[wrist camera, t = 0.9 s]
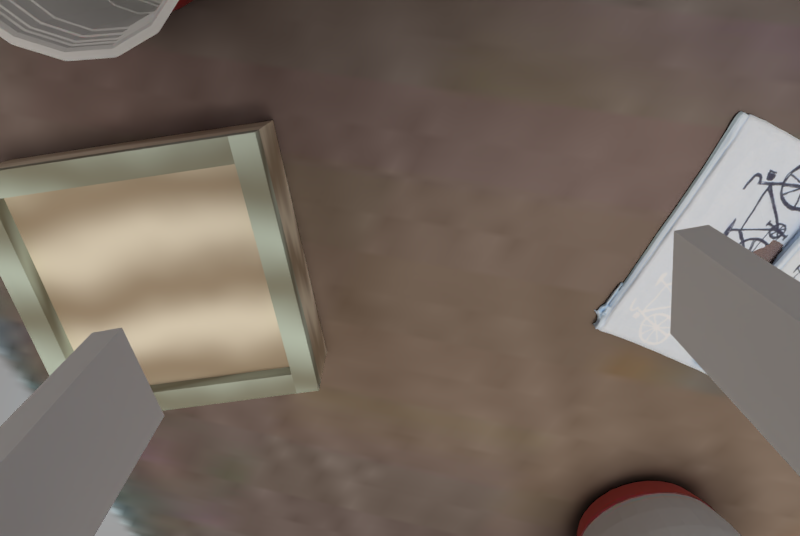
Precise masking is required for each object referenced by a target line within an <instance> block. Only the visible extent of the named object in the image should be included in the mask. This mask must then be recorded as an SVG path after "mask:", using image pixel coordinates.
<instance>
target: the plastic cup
mask: <svg viewBox="0 0 800 536" xmlns="http://www.w3.org/2000/svg"><path fill="white" fill-rule="evenodd" d="M191 1H193V0H0V37H2V38H3V39H4V40H6V41H7V42H9V43H10V44H12V45H15V46H18V47H22V48H25V49H28V50H31V51H35V52H38V53H41V54H44V55H48V56H51V57H54V58H57V59H60V60H64V61H76V60H88V59H100V58H113V57H118V56H120V55H121V54H123V53H125V52H127V51H128V50H130V49H132V48H133V47H135V46H137V45H138V44H140V43H142V42H143V41H145V40H147V39H149V38H150V37H152V36H154V35H155V34H157V33H159V31H160V29H161V28H162V26H163V25H164V23H165V21H166V20H167V18H168V17H169V15H170V14H171V12H172V11H174V10H177V9H180V8H182V7H183V6H185V5H187V4H188V3H190V2H191Z"/></svg>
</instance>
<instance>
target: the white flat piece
mask: <svg viewBox="0 0 800 536" xmlns="http://www.w3.org/2000/svg"><path fill="white" fill-rule="evenodd" d="M704 225H710V226H711V227H713V228H715V229H716V230H718V231H719V232H721V233H723V234H724V235H726V236H727V237H729V238H731V239H732V240H734V241H735V242H737V243H738V244H740V245H742V246H743V247H745V248H746V249H748V250H750V251H751V252H753V251H756V250H758V249H760V248H763V247H765V246H766V245H769V244H770V242H771V241H772V240H776V241H778V242H780V243H781V244H783V247H782V249H783V250H782V251H781V252H780V253H779V254H778V255H777V257H776V259H775V260H774V262H773V264H772V265H774V266H775V267H777V268H778V269H780V270H782V271H783V272H785V273H786V274H788V275H789V276H791V277H793V278H794V279H796V280H797V281H799V282H800V140H799V139H797V138H796V137H794V136H792V135H790V134H789V133H787V132H785V131H783V130H781V129H779V128H778V127H776V126H774V125H772V124H770V123H769V122H767V121H765V120H763V119H760V118H758V117H756V116H754V115H751V114H749V115H748V114H746V113H744V112H742V111H740V112H739V113H738V114H737V115H736V116H735V118H734V119H733V121H732V122H731V124H730V126H729V127H728V129H727V131H726V132H725V134H724V135H723V137H722V138H721V140H720V141H719V143H718V145H717V146H716V148H715V149H714V151H713V153H712V154H711V156H710V157H709V159H708V161H707V162H706V164H705V165H704V167H703V168H702V170H701V171H700V173H699V174H698V176H697V177H696V179H695V180H694V181H693V183H692V184H691V186H690V187H689V189H688V190H687V192H686V193H685V195H684V196H683V198H682V199H681V201H680V202H679V203H678V205H677V206H676V208H675V209H674V211H673V212H672V214H671V215H670V216H669V218H668V219H667V221H666V222H665V223H664V225H663V226H662V227H661V229H660V230H659V232H658V233H657V234H656V236H655V237H654V239H653V240H652V242H651V243H650V245H649V246H648V248H647V249H646V251H645V252H644V254H643V255H642V256H641V258H640V259H639V261H638V262H637V264H636V265H635V267H634V268H633V270H632V271H631V273H630V274H629V276H628V277H627V278H626V280H625V281H624V283H622V282H621V283H620V285H619V287H618V288H617V289H615V290H614V292H613V293H612V294H611V296H610V297H609V299H608V300H607V301H606V303H605V304H603V305H602V306H601V307H600V308H599V309H598V310H594V311H595V312H596V314H597V321H596V322H595V323H593V325H594V326H595V329H598V330H600V331H603V332H606V333H609V334H612V335H615V336H617V337H620V338H623V339H625V340H628V341H631V342H634V343H636V344H638V345H641V346H643V347H645V348H648V349H650V350H653V351H655V352H658V353H660V354H662V355H665V356H667V357H669V358H672V359H674V360H676V361H678V362H680V363H682V364H685V365H687V366H690V367H692V368H694V369H697V370H699V371H701V372H703V373H705V374H707V373H706V372H705V371H704V370H703V369H702V368H701V367H700V366H699V365H698V363H697V362H696V361H695V360H694V359H693V358H692V357H691V356H690V355H689V354H688V352H687V351H686V350H685V349H684V348H683V347H682V346H681V345H680V344H679V343H678V341H677V340H676V339H675V338H674V337H673V336H672V335H671V334H670V327H671V299H672V271H673V243H674V231H676V230H681V229H687V228H693V227H699V226H704Z"/></svg>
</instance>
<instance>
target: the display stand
mask: <svg viewBox="0 0 800 536" xmlns="http://www.w3.org/2000/svg"><path fill="white" fill-rule="evenodd" d="M0 276H1V278H2V280H3V282H4V284H5V286H6V288H7V290H8V292H9V294H10V296H11V298H12V300H13V302H14V304H15V306H16V308H17V310H18V312H19V314H20V317H21V319H22V321H23V323H24V325H25V327H26V329H27V331H28V333H29V335H30V337H31V339H32V341H33V343H34V345H35V347H36V349H37V351H38V353H39V355H40V357H41V359H42V361H43V363H44V365H45V368H46V370H47V372H48V374H49V376H50V375H51V374H52V373H53V372H54V371H55V370H56V369H57V368H58V367H59V366H60V365H61V364H62V363H63V362H64V361H65V360H66V359H67V358H68V357H69V356H70V355H71V354H72V353H73V352H74V351H75V350H76V349H77V348H78V347H79V346H80V344H81V343H82V342H83V341H84V340H85V339H86V338H87V337H88V336H89V335H90V334H91V333H93V332H99V331H105V330H110V329H116V328H122V329H123V331H124V333H125V335H126V337H127V339H128V341H129V343H130V345H131V347H132V350H133V352H134V354H135V356H136V358H137V360H138V362H139V364H140V366H141V368H142V370H143V372H144V375H145V377H146V379H147V381H148V383H149V385H150V387H151V389H152V391H153V393H154V395H155V397H156V399H157V402H158V404H159V406H160V408H161V410H162V411H164V410H171V409H179V408H187V407H195V406H202V405H210V404H218V403H226V402H233V401H241V400H249V399H256V398H264V397H272V396H280V395H287V394H295V393H303V392H311V391H318V390H319V388H320V383H321V378H322V373H323V368H324V363H325V358H326V353H327V351H326V346H325V342H324V338H323V333H322V329H321V325H320V320H319V316H318V312H317V308H316V303H315V299H314V295H313V290H312V286H311V282H310V277H309V273H308V269H307V265H306V260H305V256H304V252H303V247H302V243H301V239H300V234H299V230H298V226H297V221H296V217H295V213H294V209H293V204H292V200H291V196H290V191H289V187H288V183H287V178H286V174H285V170H284V166H283V161H282V157H281V153H280V148H279V144H278V140H277V135H276V131H275V127H274V122H273V120H271V121H264V122H258V123H251V124H244V125H238V126H231V127H225V128H218V129H211V130H205V131H198V132H191V133H185V134H178V135H171V136H165V137H158V138H152V139H145V140H138V141H132V142H125V143H118V144H112V145H105V146H99V147H92V148H85V149H79V150H72V151H65V152H59V153H52V154H45V155H39V156H32V157H26V158H19V159H12V160H8V161H4V162H1V163H0Z"/></svg>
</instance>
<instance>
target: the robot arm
mask: <svg viewBox="0 0 800 536" xmlns="http://www.w3.org/2000/svg"><path fill="white" fill-rule="evenodd" d="M670 334H671V335H672V336H673V337H674V338H675V339H676V340H677V341H678V343H679V344H680V345H681V346H682V347H683V348H684V349H685V350H686V351H687V352H688V354H689V355H690V356H691V357H692V358H693V359H694V360H695V361H696V362H697V363H698V365H699V366H700V367H701V368H702V369H703V370H704V371H705V372H706V373H707V375H708V376H709V377H710V378H711V379H712V380H713V381H714V382H715V383H716V384H717V386H718V387H719V388H720V389H721V390H722V391H723V392H724V393H725V394H726V396H727V397H728V398H729V399H730V400H731V401H732V402H733V403H734V404H735V405H736V407H737V408H738V409H739V410H740V411H741V412H742V413H743V414H744V415H745V416H746V418H747V419H748V420H749V421H750V422H751V423H752V424H753V425H754V426H755V428H756V429H757V430H758V431H759V432H760V433H761V434H762V435H763V436H764V437H765V439H766V440H767V441H768V442H769V443H770V444H771V445H772V446H773V447H774V449H775V450H776V451H777V452H778V453H779V454H780V455H781V456H782V457H783V458H784V460H785V461H786V462H787V463H788V464H789V465H790V466H791V467H792V468H793V469H794V471H795V472H796V473H797V474H798V475H799V476H800V282H799V281H797V280H796V279H794V278H793V277H791V276H789V275H788V274H786V273H785V272H783V271H782V270H780V269H778V268H777V267H775V266H774V265H772V264H770V263H769V262H767V261H766V260H764V259H762V258H761V257H759V256H758V255H756V254H754V253H753V252H751V251H750V250H748V249H746V248H745V247H743V246H742V245H740V244H738V243H737V242H735V241H734V240H732V239H731V238H729V237H727V236H726V235H724V234H723V233H721V232H719V231H718V230H716V229H715V228H713V227H711V226H710V225H704V226H699V227H693V228H687V229H681V230H676V231H674V243H673V271H672V299H671V327H670ZM163 417H164V414H163V412H162V410H161V408H160V406H159V404H158V402H157V399H156V397H155V395H154V393H153V391H152V389H151V387H150V385H149V383H148V381H147V379H146V377H145V375H144V372H143V370H142V368H141V366H140V364H139V362H138V360H137V358H136V356H135V354H134V352H133V350H132V347H131V345H130V343H129V341H128V339H127V337H126V335H125V333H124V331H123V329H122V328H116V329H110V330H105V331H99V332H93V333H91V334H90V335H89V336H88V337H87V338H86V339H85V340H84V341H83V342H82V343H81V344H80V346H79V347H78V348H77V349H76V350H75V351H74V352H73V353H72V354H71V355H70V356H69V357H68V358H67V359H66V360H65V361H64V362H63V363H62V364H61V365H60V366H59V367H58V368H57V369H56V370H55V371H54V372H53V373H52V374H51V375H50V376H49V377H48V378H47V379H46V380H45V381H44V382H43V383H42V384H41V385H40V386H39V387H38V389H37V390H36V391H35V392H34V393H33V394H32V395H31V396H30V397H29V398H28V399H27V400H26V401H25V402H24V403H23V404H22V405H21V406H20V407H19V408H18V409H17V410H16V411H15V412H14V413H13V414H12V415H11V416H10V417H9V418H8V419H7V421H5V422H4V423H3V424H2V425H1V427H0V536H94V535H95V534H96V532H97V530H98V528H99V527H100V525H101V523H102V522H103V520H104V518H105V516H106V515H107V513H108V511H109V510H110V508H111V506H112V504H113V503H114V501H115V499H116V498H117V496H118V494H119V493H120V491H121V489H122V487H123V486H124V484H125V482H126V481H127V479H128V477H129V475H130V474H131V472H132V470H133V469H134V467H135V465H136V463H137V462H138V460H139V458H140V457H141V455H142V453H143V451H144V450H145V448H146V446H147V445H148V443H149V441H150V439H151V438H152V436H153V434H154V433H155V431H156V429H157V427H158V426H159V424H160V422H161V421H162V419H163Z"/></svg>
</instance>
